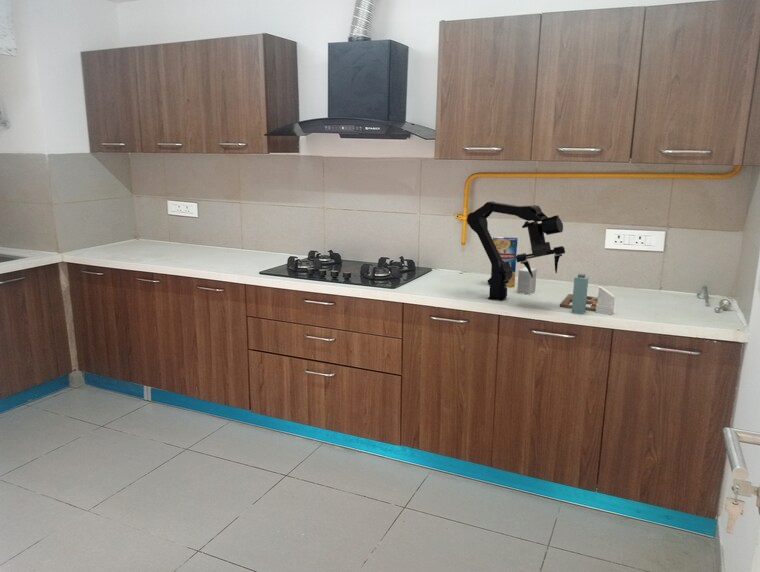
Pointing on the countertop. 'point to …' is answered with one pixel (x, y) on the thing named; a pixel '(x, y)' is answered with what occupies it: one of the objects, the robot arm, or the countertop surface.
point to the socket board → (592, 301)
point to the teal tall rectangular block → (580, 294)
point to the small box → (526, 281)
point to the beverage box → (507, 254)
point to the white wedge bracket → (605, 302)
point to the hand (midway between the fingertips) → (544, 275)
